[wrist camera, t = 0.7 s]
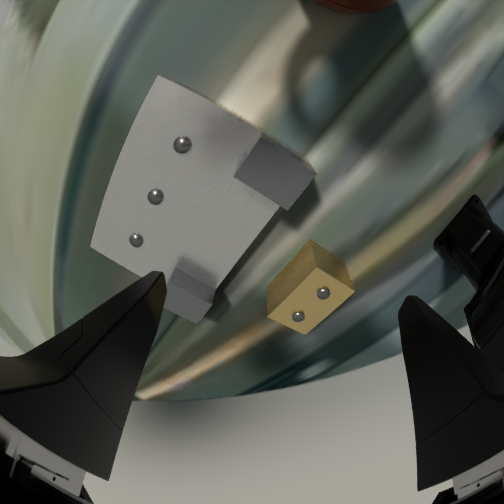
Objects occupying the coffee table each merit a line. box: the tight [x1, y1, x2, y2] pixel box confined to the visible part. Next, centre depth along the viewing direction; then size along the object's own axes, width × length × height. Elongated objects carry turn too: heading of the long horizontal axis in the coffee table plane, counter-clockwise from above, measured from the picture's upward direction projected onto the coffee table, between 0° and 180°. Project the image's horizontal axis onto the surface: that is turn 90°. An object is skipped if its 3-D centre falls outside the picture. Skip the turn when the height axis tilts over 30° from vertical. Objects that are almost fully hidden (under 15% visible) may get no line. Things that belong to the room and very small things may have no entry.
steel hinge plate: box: [90, 75, 317, 324], centre depth 19 cm, size 12×16×3 cm
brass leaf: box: [267, 239, 355, 334], centre depth 22 cm, size 4×6×4 cm, turn 147°
